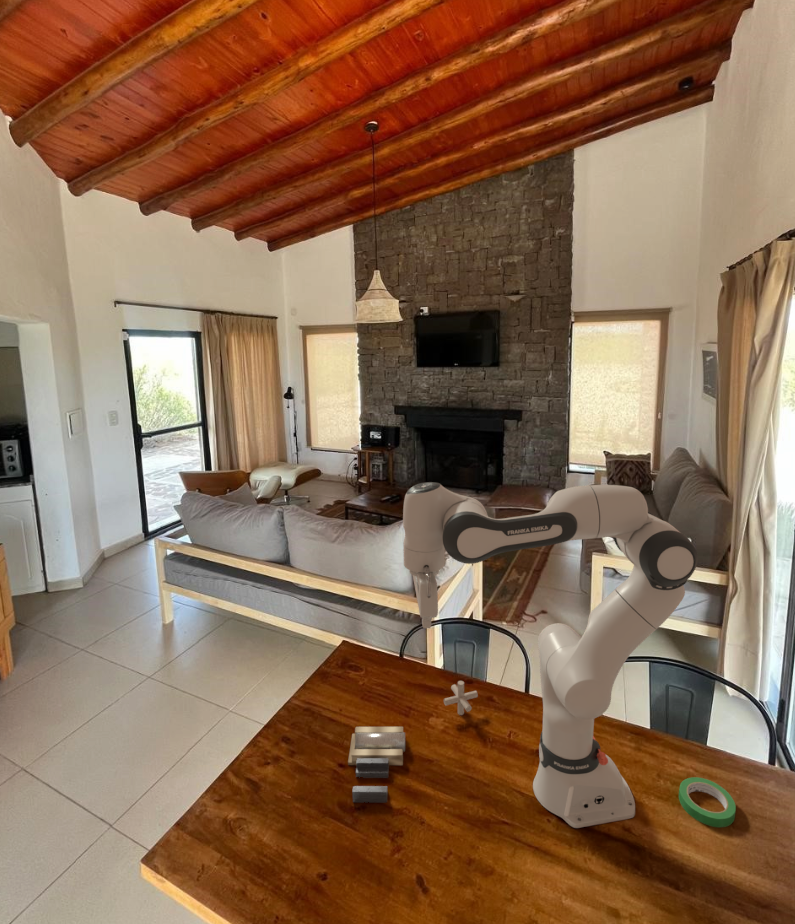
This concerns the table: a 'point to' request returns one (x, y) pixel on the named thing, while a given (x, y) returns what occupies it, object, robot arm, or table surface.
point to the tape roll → (702, 814)
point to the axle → (380, 741)
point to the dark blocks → (371, 770)
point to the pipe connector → (461, 698)
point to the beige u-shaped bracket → (392, 754)
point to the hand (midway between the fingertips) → (424, 615)
